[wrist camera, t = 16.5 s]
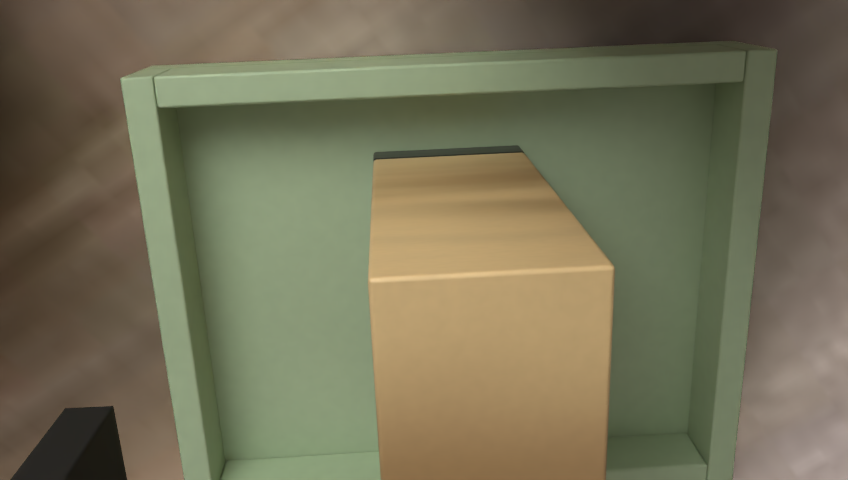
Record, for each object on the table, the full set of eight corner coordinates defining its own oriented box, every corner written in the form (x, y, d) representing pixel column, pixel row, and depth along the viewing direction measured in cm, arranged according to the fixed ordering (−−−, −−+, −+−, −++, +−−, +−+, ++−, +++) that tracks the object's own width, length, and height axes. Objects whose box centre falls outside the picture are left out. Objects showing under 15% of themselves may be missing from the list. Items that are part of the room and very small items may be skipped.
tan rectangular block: (373, 151, 19) (367, 279, 11) (519, 144, 19) (617, 264, 11) (388, 402, 21) (391, 659, 13) (518, 395, 22) (600, 644, 14)
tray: (732, 40, 20) (778, 48, 17) (698, 435, 23) (732, 485, 21) (150, 65, 19) (118, 77, 17) (209, 465, 23) (189, 520, 20)
